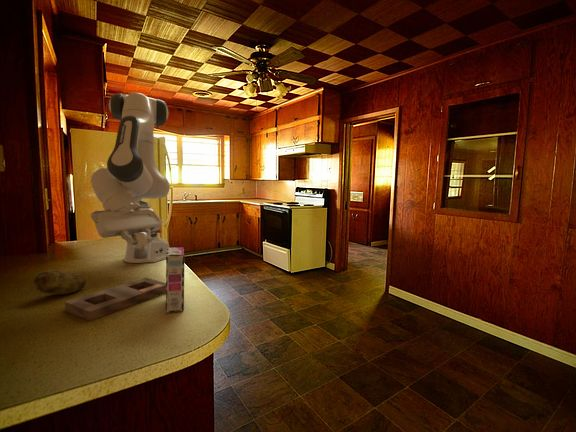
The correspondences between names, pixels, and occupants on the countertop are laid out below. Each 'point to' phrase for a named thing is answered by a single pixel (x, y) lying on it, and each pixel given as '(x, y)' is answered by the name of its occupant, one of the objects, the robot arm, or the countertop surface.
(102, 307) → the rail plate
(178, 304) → the candy bar box
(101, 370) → the countertop surface
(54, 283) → the potato
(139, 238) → the metal peg
